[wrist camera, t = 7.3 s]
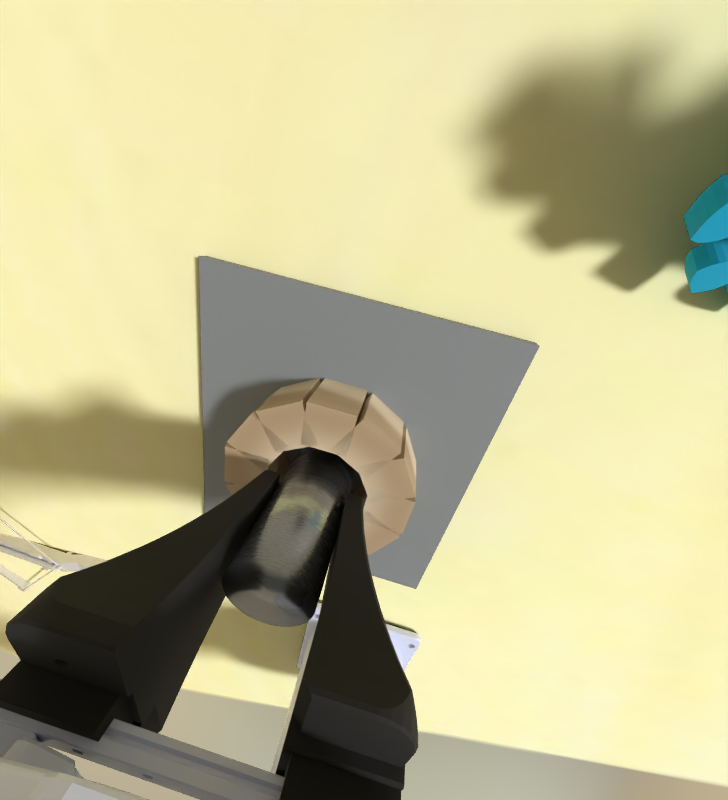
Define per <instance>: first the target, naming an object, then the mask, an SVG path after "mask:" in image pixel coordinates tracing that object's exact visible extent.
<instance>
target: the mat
mask: <svg viewBox="0 0 728 800" xmlns="http://www.w3.org/2000/svg"><path fill="white" fill-rule="evenodd" d="M199 285H200V328H201V371H202V413H203V456H204V499H205V513H206V512H207V511H209V510H211V509H212V508H214V507H215V506H217V505H218V504H220V503H221V502H223V501H224V500H226V499H227V498H229V497H230V496H231V493H230V492H229V490H228V488H227V487H226V484H227V483H228V482H227V481H224V477H225V446H226V445H227V444H228V443H227V441H228V440H229V439H230V437H231V436H232V435H233V434H234V433H235V432H236V431H237V429H238V428H239V427H240V426H241V425H242V424H243V423H244V421H245V420H246V419H247V418H248V417H249V416H250V414H251V413H253V412H254V411H255V410H256V409H257V408H258V407H259V406H260V405H261V404H262V403H263V402H264V401H265V400H266V399H267V398H268V397H270V396H271V395H272V394H273V393H274V392H275V391H276V390H279V389H280V388H281V387H284V386H288V385H292V384H296V383H300V382H305V381H309V380H313V379H317V378H320V381H321V383H322V381H323V380H324V379H325V378H326V379H330V380H334V381H337V382H341V383H344V384H348V385H352V386H355V387H359V388H362V389H366V390H367V394H366V398H368V397H369V396H370V395H371V394H372V393H373V394H374V395H376V396H377V397H378V398H379V399H380V400H381V401H382V402H383V403H384V404H385V405H386V406H387V407H388V408H389V409H391V410H392V411H393V412H394V413H395V414H396V415H397V416H398V417H399V418H400V419H401V420H402V421H403V422H404V424H403V427H406V426H407V430H408V433H409V437H410V440H411V444H412V448H413V451H414V455H415V458H416V502H415V505H414V507H413V510H412V512H411V514H410V517H409V519H408V522H407V524H406V526H405V529H404V531H403V534H401V533H400V534H399V538H397V539H396V540H394V541H392V542H391V543H389V544H387V545H386V546H384V547H382V548H381V549H379V550H377V551H375V552H374V553H372V554H370V555H368V554H367V555H368V560H369V565H370V570H371V575H372V576H376V577H379V578H382V579H385V580H389V581H392V582H395V583H398V584H402V585H405V586H408V587H411V588H415V589H416V588H417V586H418V584H419V582H420V580H421V578H422V576H423V574H424V572H425V570H426V568H427V566H428V564H429V562H430V560H431V558H432V556H433V554H434V552H435V550H436V548H437V546H438V545H439V543H440V541H441V539H442V537H443V535H444V533H445V531H446V529H447V527H448V525H449V523H450V521H451V519H452V517H453V515H454V513H455V511H456V509H457V507H458V505H459V503H460V501H461V499H462V497H463V495H464V493H465V491H466V490H467V488H468V486H469V484H470V482H471V480H472V478H473V476H474V474H475V472H476V470H477V468H478V466H479V464H480V462H481V460H482V458H483V456H484V454H485V452H486V450H487V448H488V446H489V444H490V442H491V440H492V438H493V436H494V435H495V433H496V431H497V429H498V427H499V425H500V423H501V421H502V419H503V417H504V415H505V413H506V411H507V409H508V407H509V405H510V403H511V401H512V399H513V397H514V395H515V393H516V391H517V389H518V387H519V385H520V383H521V381H522V380H523V378H524V376H525V374H526V372H527V370H528V368H529V366H530V364H531V362H532V360H533V358H534V356H535V354H536V352H537V350H538V348H539V345H538V344H536V343H535V342H531V341H527V340H523V339H519V338H516V337H512V336H508V335H504V334H500V333H497V332H493V331H489V330H485V329H481V328H478V327H474V326H470V325H466V324H463V323H459V322H455V321H451V320H447V319H444V318H440V317H436V316H432V315H428V314H425V313H421V312H417V311H413V310H409V309H406V308H402V307H398V306H394V305H390V304H387V303H383V302H379V301H375V300H372V299H368V298H364V297H360V296H356V295H353V294H349V293H345V292H341V291H337V290H334V289H330V288H326V287H322V286H318V285H315V284H311V283H307V282H303V281H299V280H296V279H292V278H288V277H284V276H280V275H277V274H273V273H269V272H265V271H262V270H258V269H254V268H250V267H246V266H243V265H239V264H235V263H231V262H227V261H224V260H220V259H216V258H212V257H208V256H199ZM366 398H365V399H366ZM304 448H306V447H304ZM304 448H299V449H293V450H288V453H287V455H288V457H289V459H290V461H291V463H292V462H293V460H294V459H295V457H296V456H297V454H298V453H299V452H300V451H301V450H302V449H304ZM353 469H354V468H353ZM362 484H363V482H362V479H361V477H360V474H359V473H358V472H357V471H356V470H355V469H354V481H353V484H352V488H351V490H355V489H356V488H358V487H359V486H360V485H362Z"/></svg>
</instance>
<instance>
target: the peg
mask: <svg viewBox="0 0 728 800" xmlns="http://www.w3.org/2000/svg"><path fill="white" fill-rule="evenodd" d="M353 481H354V469H353V467H351V466H350V465H349V464H348V463H347V462H345V461H344V460H343V459H342V458H341V457H340V456H338V455H337V454H333V453H330V452H326V451H323V450H319V449H316V448H312V447H306V448H304V449H302V450H301V451H300V452H299V453H298V454H297V456H296V457H295V459H294V460H293V462H292V464H291V465H290V467H289V469H288V470H287V472H286V473H285V475H284V477H283V478H282V480H281V482H280V483H279V485H278V486H277V488H276V490H275V491H274V493H273V495H272V496H271V498H270V499H269V501H268V503H267V504H266V506H265V508H264V509H263V511H262V512H261V514H260V516H259V517H258V519H257V521H256V522H255V524H254V526H253V527H252V529H251V530H250V532H249V534H248V535H247V537H246V539H245V540H244V542H243V543H242V545H241V547H240V548H239V550H238V552H237V553H236V555H235V556H234V558H233V560H232V561H231V563H230V565H229V566H228V568H227V569H226V571H225V573H224V575H223V577H222V587H223V590H224V593H225V595H226V596H227V598H228V599H229V600H230V602H231V603H232V604H233V605H234V606H235V607H237V608H238V609H239V610H240V611H242V612H243V613H245V614H246V615H248V616H250V617H252V618H254V619H256V620H258V621H261V622H263V623H267V624H270V625H275V626H284V627H291V626H298V625H301V624H304V623H306V622H308V621H309V620H310V619H311V618H312V617H313V616H314V614H315V611H316V608H317V604H318V601H319V597H320V594H321V590H322V587H323V584H324V580H325V577H326V573H327V570H328V566H329V563H330V560H331V556H332V553H333V549H334V546H335V542H336V539H337V534H338V529H339V525H340V520H341V517H342V513H343V509H344V506H345V503H346V499H347V496H348V494H350V491H351V488H352V484H353Z"/></svg>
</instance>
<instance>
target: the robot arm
mask: <svg viewBox="0 0 728 800" xmlns="http://www.w3.org/2000/svg"><path fill="white" fill-rule="evenodd" d="M279 480H280V473H276V472H273V471H270V470H265V471H263V472H262V473H261V474H259V475H258V476H257V477H256V478H254V479H253V480H252V481H251V482H249V483H248V484H247V485H245V486H244V487H243V488H241V489H240V490H239V491H237V492H236V493H234V494H233V495H231V496H230V497H229V498H227V499H226V500H224V501H223V502H221V503H220V504H218V505H217V506H215V507H214V508H212V509H211V510H209V511H207V512H206V513H204V514H203V515H201V516H199V517H198V518H196V519H194V520H193V521H191V522H189V523H187V524H186V525H184V526H182V527H180V528H178V529H176V530H174V531H173V532H171V533H169V534H167V535H165V536H163V537H161V538H159V539H157V540H154V541H152V542H150V543H148V544H146V545H144V546H141V547H139V548H137V549H134V550H132V551H130V552H127V553H125V554H122V555H120V556H118V557H115V558H113V559H110V560H108V561H105V562H103V563H100V564H97V565H94V566H91V567H88V568H86V569H83V570H80V571H77V572H74V573H71V574H68V575H65V576H62V577H60V578H59V579H57V580H56V581H55V582H54V583H52V584H51V585H50V586H49V587H47V588H46V589H45V590H44V591H43V592H42V593H40V594H39V595H38V596H37V597H36V598H35V599H34V600H33V601H32V602H30V603H29V604H28V605H27V606H26V607H25V608H24V609H23V610H22V611H20V612H19V613H18V614H17V615H16V616H15V617H14V618H13V619H12V620H10V621H9V622H8V623H7V626H6V632H5V633H6V635H7V638H8V640H9V641H10V643H11V645H12V646H13V648H14V650H15V651H16V653H17V655H18V656H19V658H20V660H21V661H20V662H19V663H18V664H17V665H16V666H15V667H14V668H13V669H12V670H11V671H10V672H9V673H8V674H7V675H6V676H5V677H4V678H3V679H2V680H1V679H0V800H148V799H145V798H142V797H139V796H137V795H134V794H131V793H128V792H125V791H122V790H119V789H116V788H113V787H109V786H107V785H103V784H100V783H96V782H93V781H89V780H86V779H84V778H83V777H82V776H81V775H80V774H79V772H78V771H77V769H76V768H75V761H74V760H73V759H71V758H69V757H67V756H65V755H63V754H61V753H59V752H58V751H56V750H53V749H52V748H50V747H53V748H56V749H59V750H61V751H64V752H67V753H70V754H73V755H76V756H78V757H81V758H84V759H87V760H90V761H93V762H95V763H98V764H101V765H104V766H107V767H110V768H113V769H115V770H118V771H121V772H124V773H127V774H129V775H132V776H135V777H138V778H141V779H143V780H146V781H149V782H152V783H155V784H158V785H160V786H163V787H166V788H169V789H172V790H175V791H177V792H180V793H183V794H186V795H189V796H191V797H194V798H197V799H200V800H401V790H403V788H404V775H405V764H406V763H407V762H408V761H409V760H410V758H411V757H412V756H413V755H414V754H415V753H416V750H417V748H418V729H417V718H416V711H415V704H414V698H413V693H412V689H411V687H410V684H409V682H408V680H407V678H406V675H405V673H404V670H405V668H406V667H407V665H408V663H409V662H410V660H411V659H412V657H413V655H414V654H415V652H416V650H417V649H418V647H419V645H420V643H421V638H420V636H419V635H418V634H416V633H414V632H410V631H407V630H404V629H401V628H398V627H395V626H391V625H388V624H385V621H384V618H383V615H382V612H381V609H380V605H379V602H378V598H377V595H376V591H375V587H374V583H373V579H372V575H371V570H370V565H369V560H368V555H367V548H366V541H365V533H364V519H363V508H364V500H363V498H361V497H358V496H354V495H351V494H348V496H347V499H346V503H345V506H344V509H343V513H342V517H341V520H340V525H339V529H338V534H337V539H336V542H335V546H334V549H333V553H332V556H331V560H330V565H329V570H328V575H327V580H326V585H325V590H324V595H323V600H322V603H318V604H317V608H316V611H315V614H314V616H313V617H312V618H311V619H310V620H309V621H308V624H307V628H306V632H305V636H304V640H303V643H302V647H301V651H300V655H299V659H298V663H297V668H298V669H299V670H300V672H299V675H298V679H297V682H296V686H295V689H294V693H293V696H292V700H291V703H290V707H289V710H288V714H287V717H286V721H285V725H284V728H283V731H282V735H281V738H280V741H279V745H278V748H277V752H276V755H275V759H274V762H273V766H272V770H271V772H268V771H265V770H262V769H259V768H256V767H253V766H251V765H248V764H245V763H242V762H239V761H236V760H233V759H230V758H227V757H224V756H221V755H219V754H216V753H213V752H210V751H207V750H204V749H201V748H198V747H195V746H193V745H190V744H187V743H184V742H181V741H178V740H175V739H172V738H169V737H167V736H164V735H161V734H158V732H160V731H161V730H162V728H163V725H164V723H165V721H166V719H167V716H168V714H169V712H170V710H171V708H172V705H173V703H174V701H175V699H176V697H177V695H178V692H179V690H180V688H181V686H182V684H183V682H184V679H185V677H186V675H187V673H188V671H189V669H190V667H191V665H192V663H193V661H194V658H195V656H196V654H197V652H198V650H199V648H200V646H201V644H202V642H203V640H204V638H205V636H206V634H207V632H208V630H209V628H210V626H211V624H212V622H213V620H214V618H215V616H216V614H217V612H218V610H219V608H220V606H221V604H222V602H223V600H224V598H225V596H226V595H225V593H224V590H223V587H222V577H223V575H224V573H225V571H226V569H227V568H228V566H229V565H230V563H231V561H232V560H233V558H234V556H235V555H236V553H237V552H238V550H239V548H240V547H241V545H242V543H243V542H244V540H245V539H246V537H247V535H248V534H249V532H250V530H251V529H252V527H253V526H254V524H255V522H256V521H257V519H258V517H259V516H260V514H261V512H262V511H263V509H264V508H265V506H266V504H267V503H268V501H269V499H270V498H271V496H272V495H273V493H274V491H275V490H276V488H277V486H278V485H279ZM46 745H47V746H46ZM48 746H50V747H48Z"/></svg>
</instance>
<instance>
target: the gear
mask: <svg viewBox="0 0 728 800" xmlns="http://www.w3.org/2000/svg"><path fill="white" fill-rule="evenodd" d="M683 217H684V221H685V224H686V227H687V231H688V234H689V237H690V240H692V241H693V242H698V243H704V244H702V245H699V246H697V247H695V248H693V249H691V250H690V252H689V253H688V255H687V257H686V259H685V273H686V276H687V280H688V283H689V287H690V291H691V293H698V292H705V291H709V290H713V289H716V288H719V287H722V286H724V285H725V287H726V290H727V293H728V239H725V238H728V174H725V175H723V176H721V177H720V178H719V179H717V180H716V181H715V182H714V183H712V184H711V185H710V186H709V187H708V188H707V189H706V190H705V191H704V192H703V193H702V194H701V195H700V196H699V197H698V198H697V200H696V201H695V202H694V203H693V204H692V206H691V207H690V208H689V210H688V211H687V212H686V214H685V215H684V216H683Z"/></svg>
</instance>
